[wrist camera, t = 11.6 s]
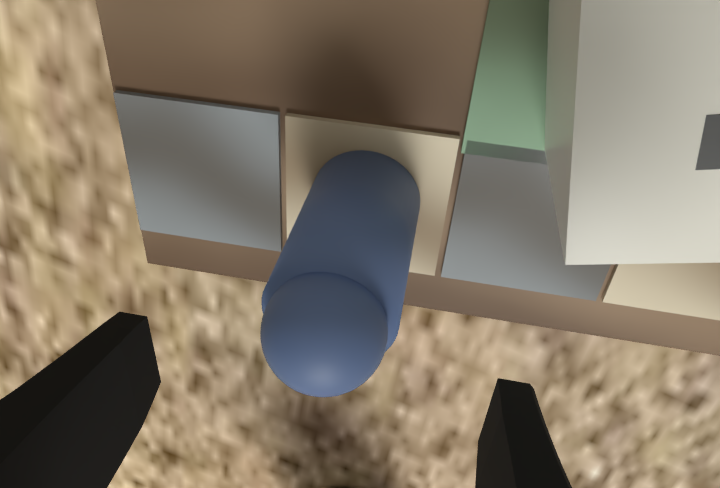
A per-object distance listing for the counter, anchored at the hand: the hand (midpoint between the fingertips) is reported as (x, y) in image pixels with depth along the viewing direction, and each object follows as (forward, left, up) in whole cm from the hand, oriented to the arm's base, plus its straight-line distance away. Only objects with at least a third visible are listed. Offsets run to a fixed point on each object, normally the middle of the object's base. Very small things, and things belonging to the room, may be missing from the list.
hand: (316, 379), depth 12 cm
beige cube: (+6, -6, -7) cm, 11 cm away
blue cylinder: (0, 0, -7) cm, 7 cm away
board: (+2, -2, -8) cm, 8 cm away
